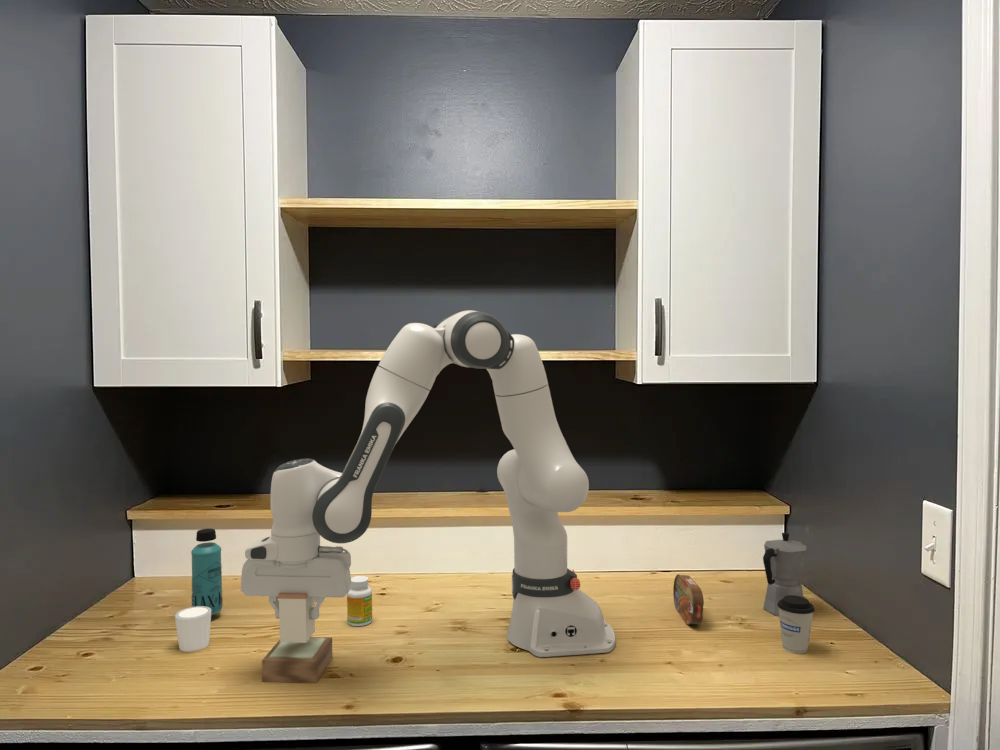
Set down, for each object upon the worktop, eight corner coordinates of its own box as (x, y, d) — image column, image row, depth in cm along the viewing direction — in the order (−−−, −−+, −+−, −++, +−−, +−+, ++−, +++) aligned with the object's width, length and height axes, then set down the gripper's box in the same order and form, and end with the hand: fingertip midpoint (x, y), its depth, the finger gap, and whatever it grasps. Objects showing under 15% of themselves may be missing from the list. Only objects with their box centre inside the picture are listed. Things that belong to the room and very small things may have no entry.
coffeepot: (779, 597, 165) (780, 523, 164) (818, 608, 158) (820, 531, 157) (744, 613, 155) (745, 535, 154) (784, 627, 148) (785, 545, 147)
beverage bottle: (185, 621, 152) (182, 533, 151) (205, 610, 159) (202, 525, 158) (211, 624, 151) (208, 534, 150) (229, 612, 157) (227, 526, 156)
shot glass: (219, 640, 143) (218, 607, 142) (196, 654, 136) (195, 620, 136) (192, 636, 145) (191, 603, 144) (168, 650, 138) (167, 616, 138)
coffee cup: (795, 638, 142) (796, 591, 142) (822, 652, 136) (823, 603, 135) (768, 644, 140) (769, 596, 139) (794, 659, 133) (795, 608, 133)
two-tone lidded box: (315, 631, 132) (314, 584, 132) (306, 642, 127) (305, 594, 126) (289, 630, 132) (288, 584, 132) (279, 642, 127) (278, 594, 127)
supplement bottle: (366, 627, 149) (365, 583, 148) (343, 625, 150) (342, 582, 149) (376, 617, 154) (375, 575, 153) (353, 616, 155) (352, 573, 154)
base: (332, 657, 135) (332, 635, 135) (316, 682, 125) (315, 659, 125) (282, 656, 135) (282, 635, 135) (262, 681, 125) (261, 658, 125)
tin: (672, 604, 161) (672, 568, 161) (685, 603, 161) (685, 568, 161) (691, 631, 146) (691, 592, 146) (705, 631, 146) (706, 592, 146)
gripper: (355, 541, 131) (356, 612, 132) (250, 540, 133) (252, 610, 133) (345, 551, 125) (346, 626, 126) (236, 550, 126) (238, 623, 127)
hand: (297, 618), depth 130 cm, fingers closed on two-tone lidded box, 5 cm apart
